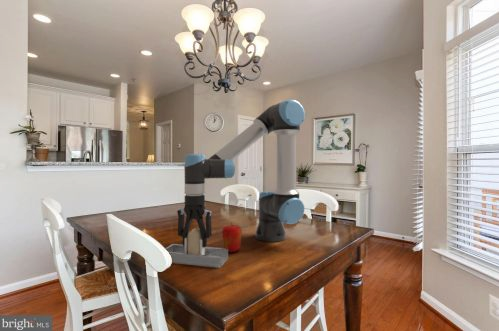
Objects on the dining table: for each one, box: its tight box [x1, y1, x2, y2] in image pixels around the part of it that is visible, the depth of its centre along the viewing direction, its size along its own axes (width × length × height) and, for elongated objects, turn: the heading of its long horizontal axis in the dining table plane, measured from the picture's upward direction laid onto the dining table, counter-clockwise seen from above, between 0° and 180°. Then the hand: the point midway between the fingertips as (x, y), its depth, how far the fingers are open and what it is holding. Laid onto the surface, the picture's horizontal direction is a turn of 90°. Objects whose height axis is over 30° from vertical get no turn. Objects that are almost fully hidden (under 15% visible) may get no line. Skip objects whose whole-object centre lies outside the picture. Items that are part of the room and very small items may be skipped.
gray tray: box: [164, 243, 229, 269], centre depth 98 cm, size 24×10×4 cm, turn 77°
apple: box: [221, 223, 243, 253], centre depth 108 cm, size 9×8×12 cm
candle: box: [187, 227, 202, 255], centre depth 98 cm, size 6×6×10 cm
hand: (194, 254), depth 98 cm, fingers closed on candle, 5 cm apart
